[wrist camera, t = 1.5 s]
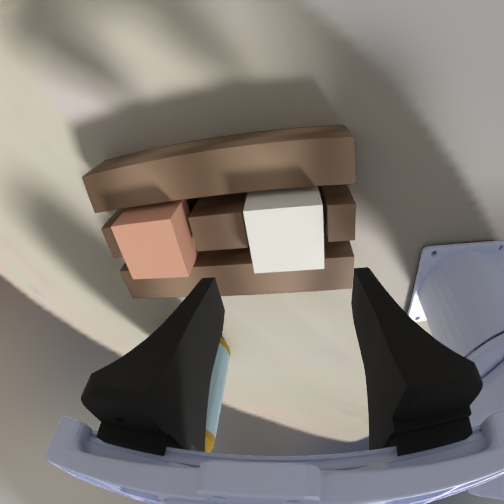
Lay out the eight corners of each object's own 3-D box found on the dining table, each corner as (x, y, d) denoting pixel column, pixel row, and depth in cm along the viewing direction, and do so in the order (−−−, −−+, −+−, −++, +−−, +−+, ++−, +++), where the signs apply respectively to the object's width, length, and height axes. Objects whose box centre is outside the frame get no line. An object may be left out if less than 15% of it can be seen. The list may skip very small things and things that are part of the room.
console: (343, 125, 17) (354, 137, 14) (345, 261, 22) (352, 288, 20) (104, 160, 19) (81, 177, 17) (145, 273, 25) (132, 297, 22)
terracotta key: (185, 195, 19) (170, 219, 16) (200, 248, 21) (188, 276, 18) (130, 203, 19) (110, 226, 17) (148, 252, 22) (133, 279, 19)
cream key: (317, 182, 17) (322, 205, 15) (319, 240, 20) (324, 268, 17) (248, 187, 18) (242, 211, 16) (258, 244, 20) (254, 273, 18)
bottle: (155, 315, 28) (101, 462, 16) (229, 323, 27) (197, 487, 15) (169, 358, 32) (132, 483, 20) (232, 366, 31) (210, 501, 19)
